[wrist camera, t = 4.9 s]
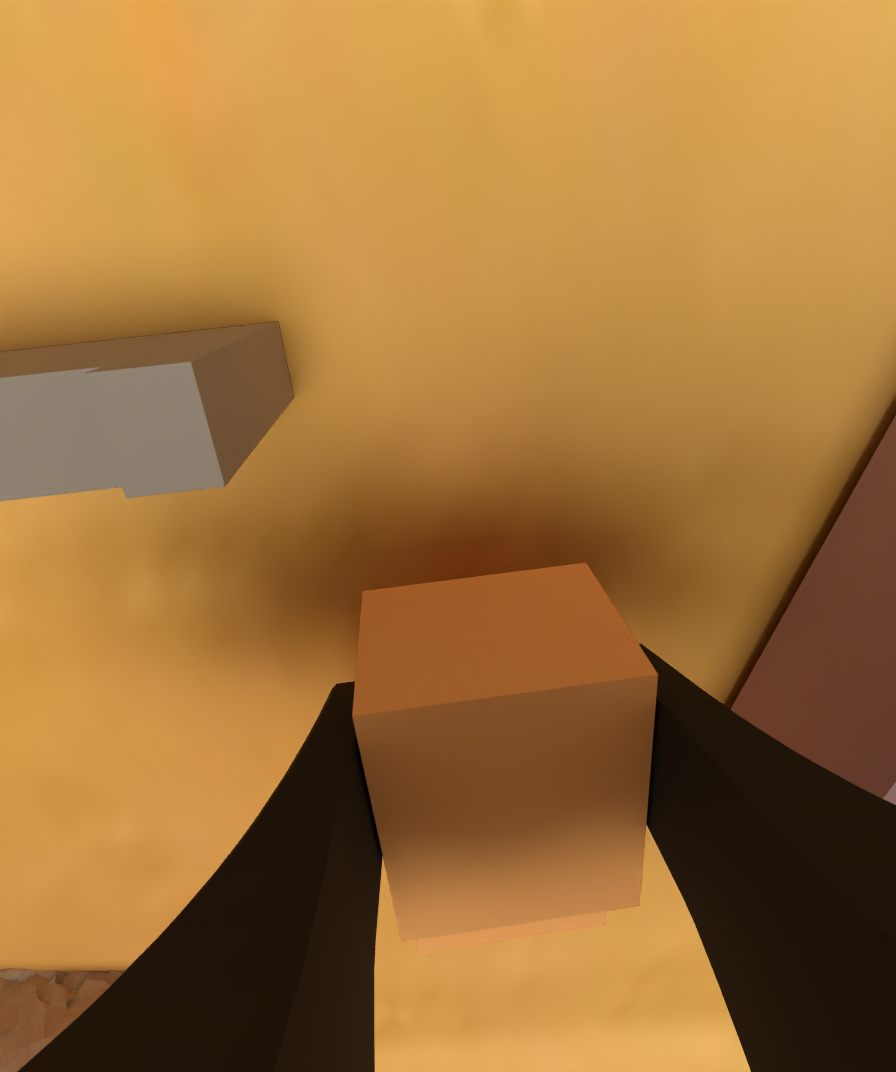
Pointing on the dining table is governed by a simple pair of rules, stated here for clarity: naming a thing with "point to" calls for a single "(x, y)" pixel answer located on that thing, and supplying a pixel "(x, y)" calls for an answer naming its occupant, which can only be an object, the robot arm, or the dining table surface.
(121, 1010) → the robot arm
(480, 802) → the orange brown block
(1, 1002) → the brick
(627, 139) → the dining table surface
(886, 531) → the door
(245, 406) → the wall frame
